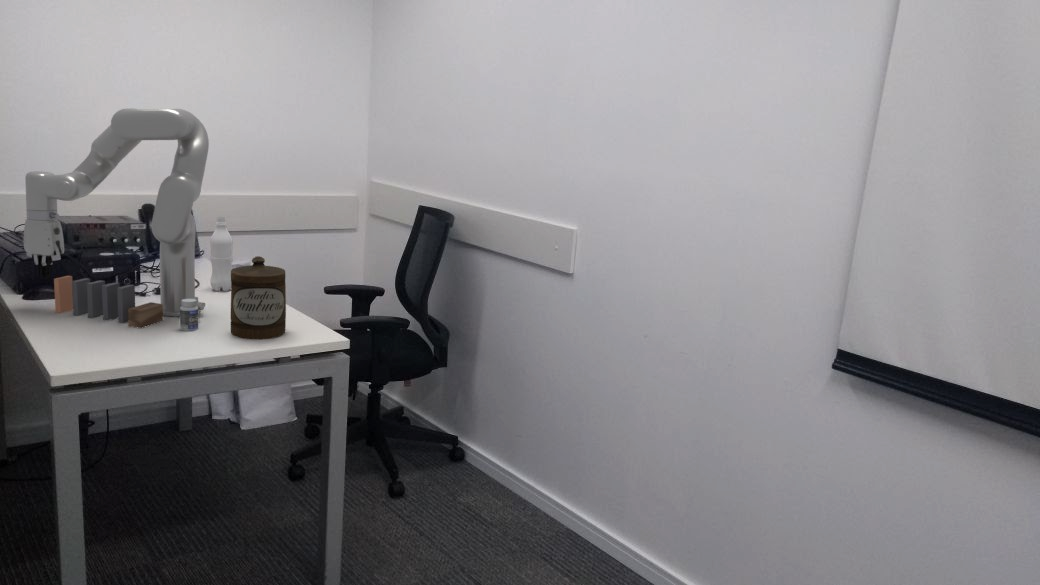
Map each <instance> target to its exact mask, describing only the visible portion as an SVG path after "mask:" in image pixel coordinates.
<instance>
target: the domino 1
mask: <svg viewBox="0 0 1040 585" xmlns="http://www.w3.org/2000/svg"><path fill="white" fill-rule="evenodd" d="M72 281H73V276H72V275H65V276H61V277H56V278H53V284H54V287H53V288H54V290H53V291H54V305H55V314H57V313H58V314H63V313H66V312H70V311H73V296H72Z"/></svg>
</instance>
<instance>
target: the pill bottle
mask: <svg viewBox="0 0 1040 585" xmlns="http://www.w3.org/2000/svg"><path fill="white" fill-rule="evenodd" d="M181 305H182V306H181V307H180V316H179V328H180V330H182V331H185V332H193V330H194V331H196V330H198V329H199V313H198V307H197V306H196V305H197V300H196V299H183V300H181Z"/></svg>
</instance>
